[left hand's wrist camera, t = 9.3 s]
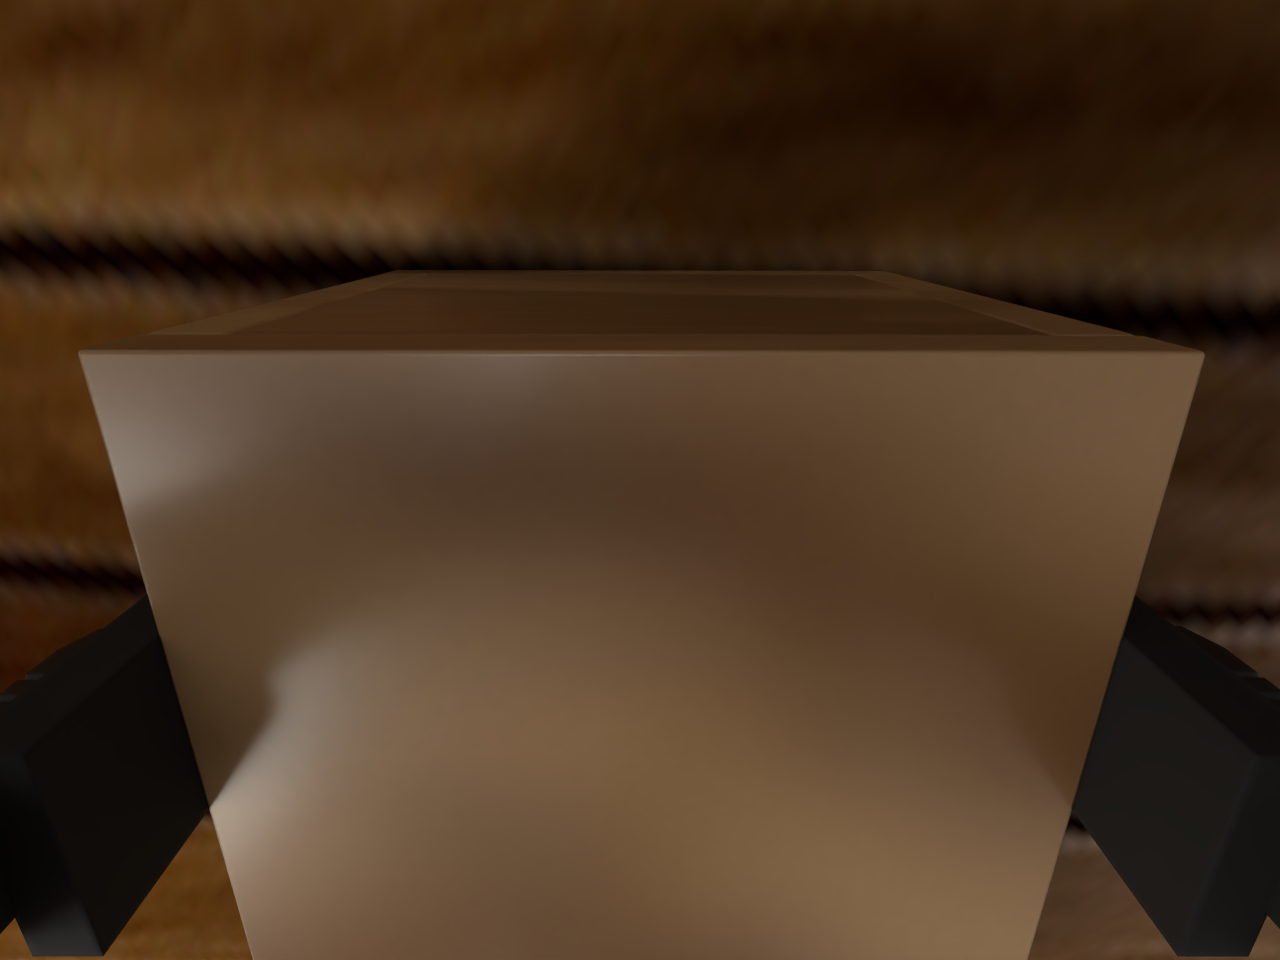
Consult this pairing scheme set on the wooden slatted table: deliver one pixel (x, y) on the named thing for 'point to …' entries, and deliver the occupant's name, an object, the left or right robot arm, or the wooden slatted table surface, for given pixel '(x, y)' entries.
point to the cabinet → (640, 604)
